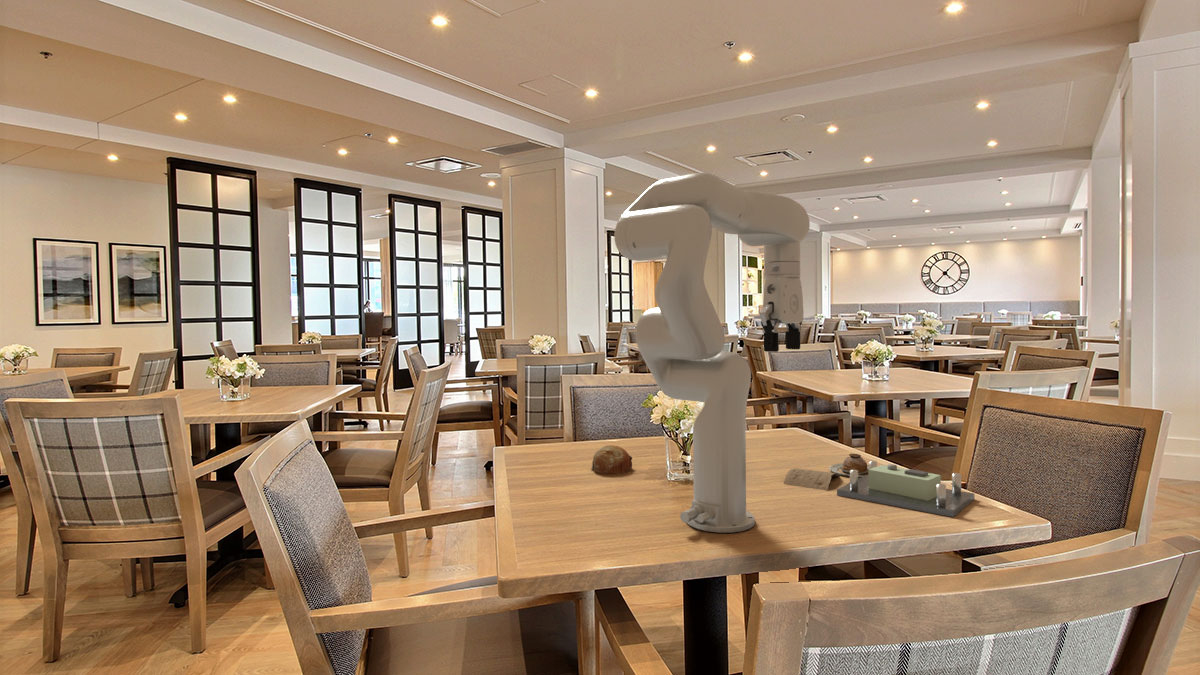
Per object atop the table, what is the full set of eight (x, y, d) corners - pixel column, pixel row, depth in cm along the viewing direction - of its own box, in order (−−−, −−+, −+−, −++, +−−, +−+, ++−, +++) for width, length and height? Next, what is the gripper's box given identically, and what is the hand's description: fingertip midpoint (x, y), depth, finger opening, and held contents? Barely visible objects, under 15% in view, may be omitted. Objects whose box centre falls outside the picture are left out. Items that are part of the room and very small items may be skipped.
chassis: (953, 517, 117) (953, 489, 117) (836, 495, 132) (836, 470, 132) (974, 499, 128) (974, 473, 127) (864, 480, 143) (864, 457, 143)
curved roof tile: (827, 494, 135) (827, 481, 135) (780, 487, 140) (780, 475, 140) (841, 478, 147) (841, 467, 147) (797, 473, 152) (797, 462, 152)
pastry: (854, 465, 158) (854, 447, 158) (894, 476, 147) (894, 457, 147) (818, 471, 153) (818, 452, 153) (857, 483, 142) (857, 463, 142)
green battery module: (927, 500, 123) (927, 476, 123) (868, 488, 132) (868, 465, 132) (940, 494, 127) (940, 471, 127) (882, 483, 136) (882, 461, 136)
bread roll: (594, 480, 161) (580, 453, 160) (628, 460, 163) (615, 433, 162) (606, 490, 151) (592, 461, 150) (641, 469, 154) (628, 440, 153)
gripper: (778, 268, 127) (778, 353, 128) (816, 271, 140) (816, 348, 140) (745, 270, 132) (746, 352, 133) (785, 273, 145) (785, 348, 145)
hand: (782, 350), depth 137 cm, fingers open, 9 cm apart
